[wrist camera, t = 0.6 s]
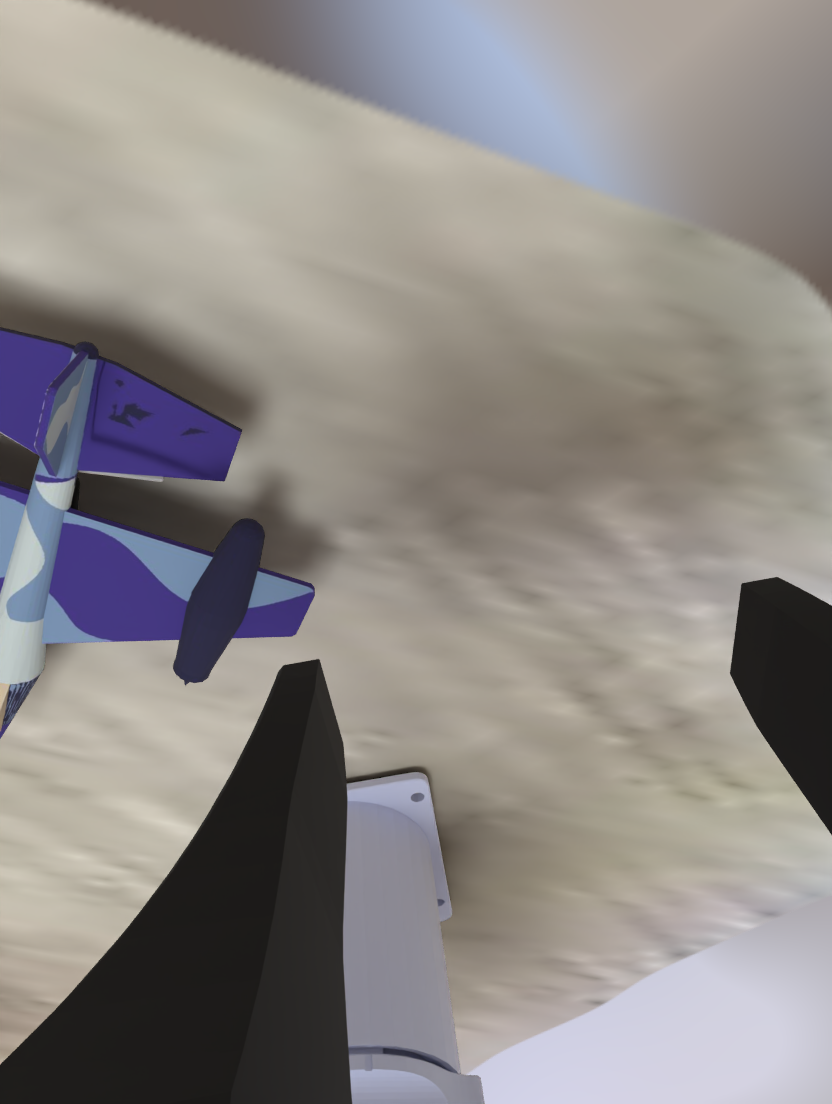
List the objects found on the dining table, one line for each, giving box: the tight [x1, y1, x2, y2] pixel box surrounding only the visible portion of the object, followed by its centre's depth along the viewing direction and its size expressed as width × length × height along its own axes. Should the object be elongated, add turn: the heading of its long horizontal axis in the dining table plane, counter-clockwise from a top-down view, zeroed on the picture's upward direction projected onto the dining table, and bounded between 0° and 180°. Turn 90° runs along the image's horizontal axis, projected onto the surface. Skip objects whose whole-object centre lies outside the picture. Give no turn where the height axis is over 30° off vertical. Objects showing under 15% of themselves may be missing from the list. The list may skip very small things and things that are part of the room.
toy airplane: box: [0, 327, 315, 738], centre depth 19 cm, size 13×14×4 cm
